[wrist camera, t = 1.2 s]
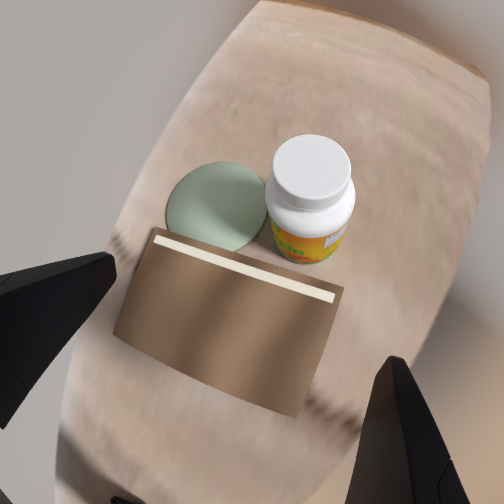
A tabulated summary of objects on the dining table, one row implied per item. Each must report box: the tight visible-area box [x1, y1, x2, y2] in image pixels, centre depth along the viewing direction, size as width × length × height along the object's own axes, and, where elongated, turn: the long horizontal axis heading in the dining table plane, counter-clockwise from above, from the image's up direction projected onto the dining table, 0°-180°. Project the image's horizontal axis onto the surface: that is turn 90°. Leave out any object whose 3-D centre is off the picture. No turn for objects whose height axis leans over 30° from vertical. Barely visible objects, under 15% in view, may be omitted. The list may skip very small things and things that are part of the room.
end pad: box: [167, 162, 267, 252], centre depth 24 cm, size 9×9×1 cm
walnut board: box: [113, 227, 344, 418], centre depth 21 cm, size 16×10×1 cm, turn 69°
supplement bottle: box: [265, 134, 355, 265], centre depth 18 cm, size 5×5×10 cm
